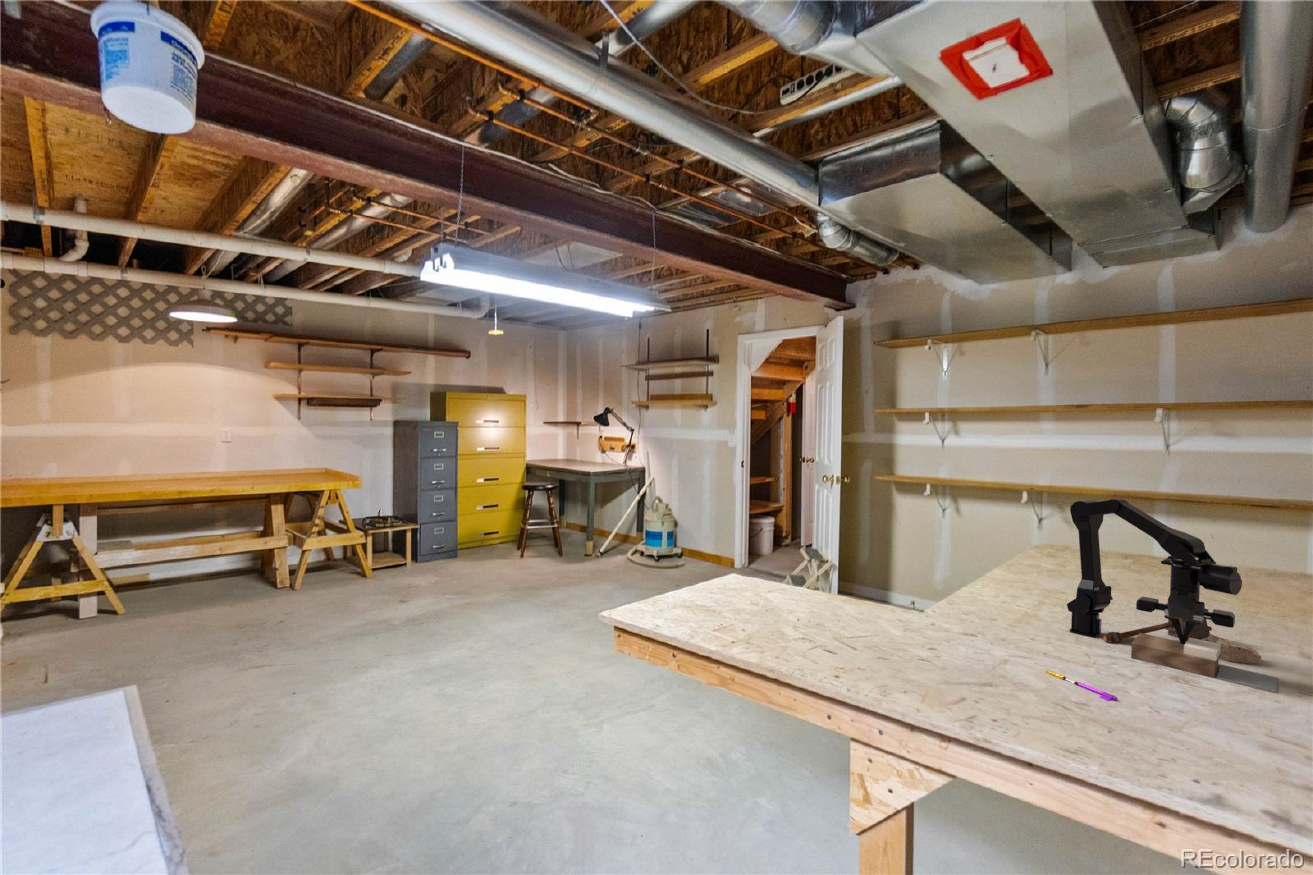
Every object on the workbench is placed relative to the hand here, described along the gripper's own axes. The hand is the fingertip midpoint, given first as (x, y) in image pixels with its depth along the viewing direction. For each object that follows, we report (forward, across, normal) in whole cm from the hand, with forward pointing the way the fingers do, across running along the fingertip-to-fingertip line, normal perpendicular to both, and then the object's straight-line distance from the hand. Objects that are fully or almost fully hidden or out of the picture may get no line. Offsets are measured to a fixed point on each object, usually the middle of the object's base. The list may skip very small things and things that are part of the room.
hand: (1182, 643), depth 152 cm
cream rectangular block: (+1, +4, 0) cm, 4 cm away
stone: (+6, +8, +16) cm, 19 cm away
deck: (+5, -2, 0) cm, 5 cm away
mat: (+5, +12, 0) cm, 13 cm away
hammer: (+6, -8, +17) cm, 19 cm away
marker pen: (+6, -15, -38) cm, 41 cm away
